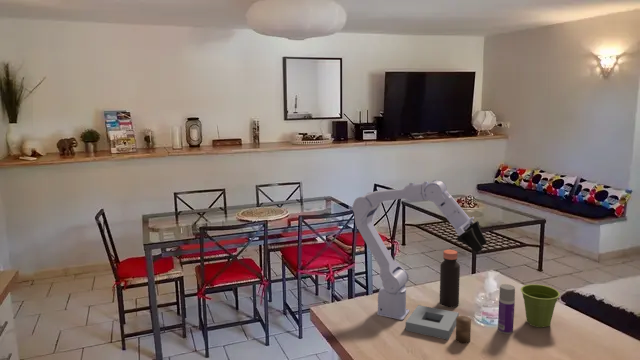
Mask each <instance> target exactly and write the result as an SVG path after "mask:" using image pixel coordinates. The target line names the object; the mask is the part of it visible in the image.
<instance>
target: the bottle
mask: <svg viewBox="0 0 640 360" xmlns="http://www.w3.org/2000/svg"><path fill="white" fill-rule="evenodd" d="M442 253H443V255H442V257H443V261H442V262H441V263H440V264H439V265H440V267H439V268H440V269H439V270H440V272H439V304H440V305H441V306H443V307H446V308H456V307H457V306H459V303H460V279H461V278H460V275H461V273H460V272H461V265H460V264H459V263H458V262H457V260H458V251H457V250H454V249H445V250H443V252H442Z"/></svg>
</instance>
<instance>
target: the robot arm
mask: <svg viewBox="0 0 640 360" xmlns="http://www.w3.org/2000/svg"><path fill="white" fill-rule="evenodd" d="M401 199H404V200H406V201H407V202H408V203H409V202H410V203H411V202H420V201H421V202H423V201H430V202H433V203H434V205H435V206H436V208H437V209H438V210H439V211H440V212H441V213H442V215H443V216H444V217H445V218H446V220H447V221H448V222H449V223H450V225H451V226H452V227H453V228H454V230H455V233H456V235H457V237H456V240H457V241H458V242H461V243H463V244H465V245H466V246H468V247H469V248H470V249H472V250H473V251H474V252H475V253H479V252H480V251H483V247H484V246H485V245H486V244H487V243H488V241H487V240H486V238H485V236H484V234H483V232H482V229H481V227H480V222H479V221H478V220H476V221H475V222H474V219H475V216H472V217H469V215H468V214H467V213H466V212H465V211H464V209H463V208H462V207H461V206H460V204H459V202H457V201H456V200H455V199H454V197H453V196H452V195H451V194H450V193H449V191H448V189H447V185H446V183H445V182H444V181H442V180H436V179H435V180H432V181H431V182H430V183H429V181H428V180H427V181H424V182H420V183H419V182H418V183H415V182H413V181H412V182H409V183H408V184H406V185H405V186H404V188H397V189H381V190H375V191H371V192H367V193H366V194H363V195H362V196H359V197H356V199H355V200H354V202H353V204H352V206H351V210H352V211H353V214H354V215H353V216H354V223H355V224H354V225H355V226H356V228H357V230H358V232H359V233H360V235H361V237H362V239H363V240H364V242H365V244H366V246H367V248H368V249H369V251H370V253H371V255H372V257H373V259H374V260H375V262H376V263H377V265H378V267H379V269H380V271H379V277H380V279H381V284H382V286H381V287H380V289H379V290H378V294H377V313H376V314H377V316H381V317H385V318H386V317H387V318H391V319H395V320H400V321H403V320H404V319H405V318H406V316H407V315H408V314H409V312H410V309H407V287H406V284H407V283H408V282H409V280H410V279H409V278H410V277H409V273H408V271H407V270H405V268H403V267H402V266H401V264H400V263H399V262H397V261H395V260H394V259H393V257H392V255H391V253H390V251H389V250H388V248H387V246H386V244H385V243H384V240H383V239H382V238H381V235H380V234H379V232H378V231H377V228H376V227H375V225H374V224H373V222H372V221H373V218H374V215H375V213H376V211H377V210H378V209H379V207H380V205H381V204H382V203H384V202H386V201H396V200H401Z"/></svg>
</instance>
